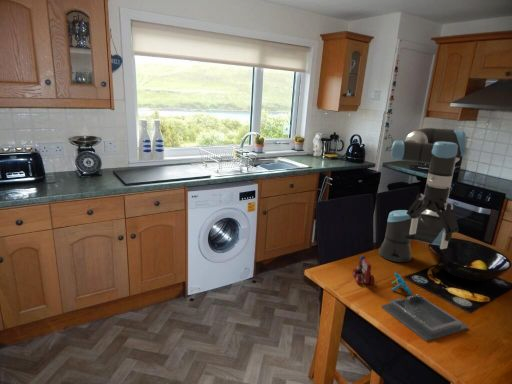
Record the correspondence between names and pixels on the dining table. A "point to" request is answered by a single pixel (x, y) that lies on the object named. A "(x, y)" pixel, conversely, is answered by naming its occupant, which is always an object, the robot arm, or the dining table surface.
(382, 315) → the dining table surface
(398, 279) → the blue toy figure
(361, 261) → the dark red figurine
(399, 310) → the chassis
